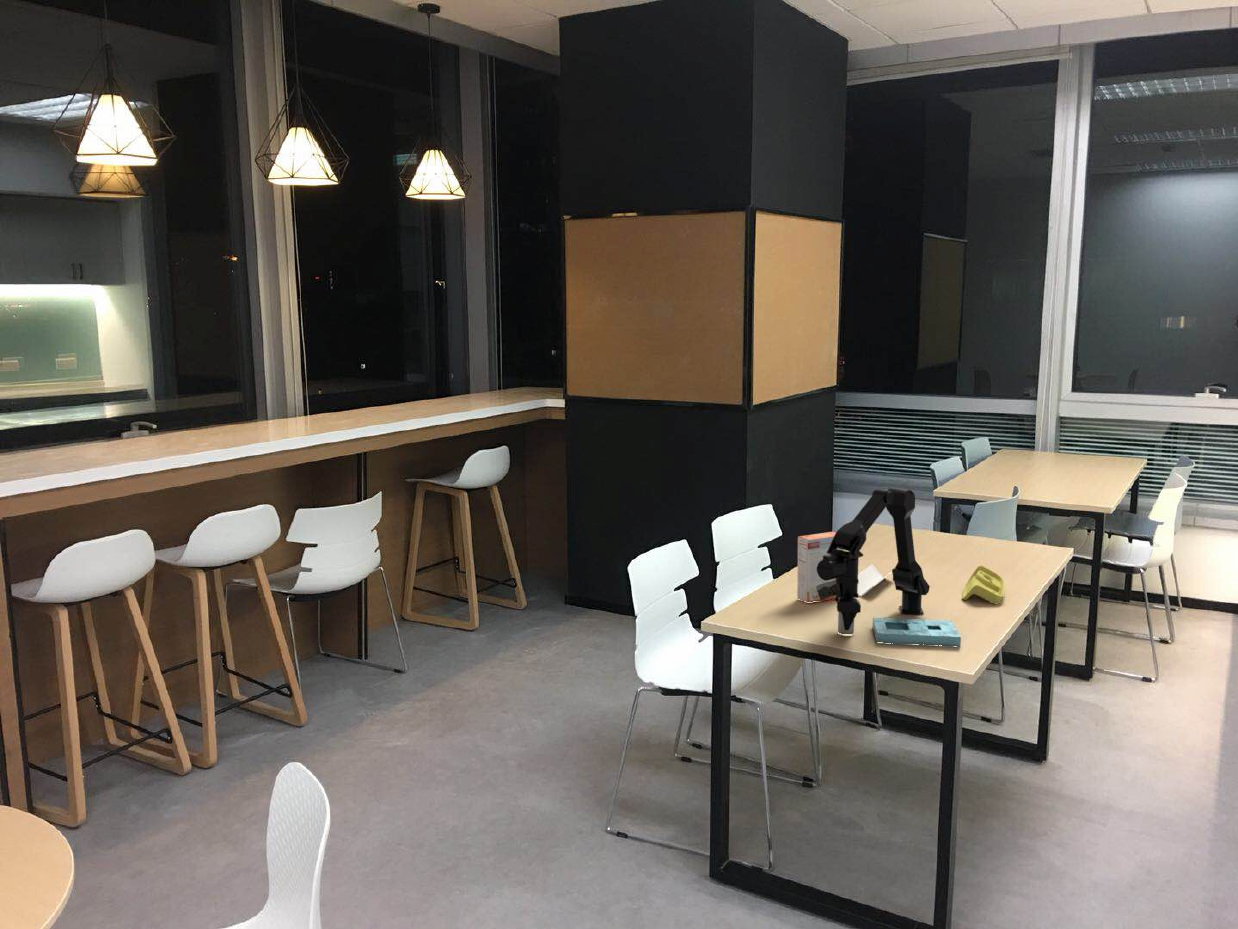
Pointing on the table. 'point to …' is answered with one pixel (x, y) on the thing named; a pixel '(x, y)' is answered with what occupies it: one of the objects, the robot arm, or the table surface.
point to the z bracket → (868, 579)
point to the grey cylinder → (841, 625)
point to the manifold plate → (916, 631)
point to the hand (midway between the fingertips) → (846, 627)
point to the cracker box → (812, 564)
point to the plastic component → (984, 585)
